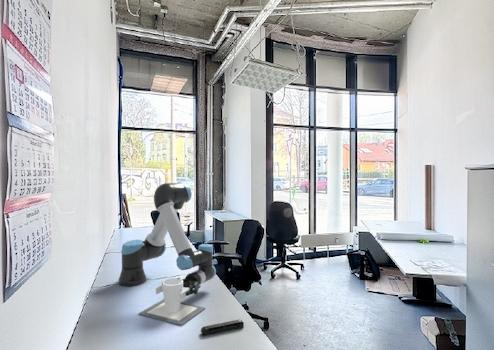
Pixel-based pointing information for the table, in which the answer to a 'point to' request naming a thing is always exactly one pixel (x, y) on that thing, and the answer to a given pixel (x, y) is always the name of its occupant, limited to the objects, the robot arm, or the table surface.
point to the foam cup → (172, 294)
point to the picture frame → (176, 318)
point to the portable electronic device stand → (222, 327)
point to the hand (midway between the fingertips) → (168, 293)
